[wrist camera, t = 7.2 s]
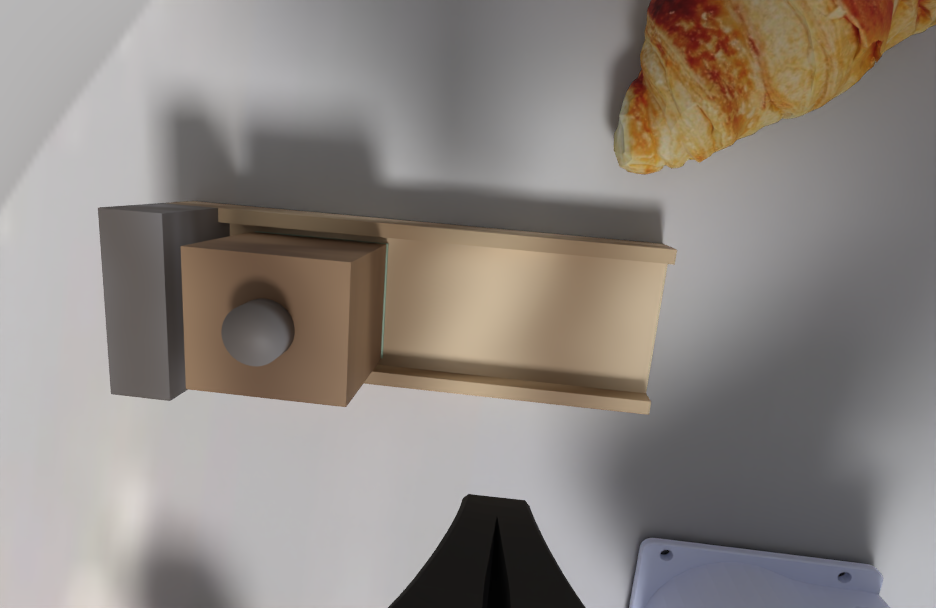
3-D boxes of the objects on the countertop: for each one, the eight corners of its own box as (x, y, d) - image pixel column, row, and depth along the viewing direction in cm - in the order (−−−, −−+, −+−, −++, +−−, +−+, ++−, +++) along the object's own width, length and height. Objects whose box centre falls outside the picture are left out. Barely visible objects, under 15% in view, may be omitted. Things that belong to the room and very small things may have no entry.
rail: (663, 243, 20) (709, 264, 15) (637, 395, 22) (673, 458, 17) (192, 201, 21) (98, 207, 17) (197, 348, 23) (110, 394, 18)
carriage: (385, 244, 20) (341, 266, 15) (380, 360, 21) (337, 418, 16) (251, 231, 20) (163, 249, 15) (252, 346, 21) (170, 399, 16)
